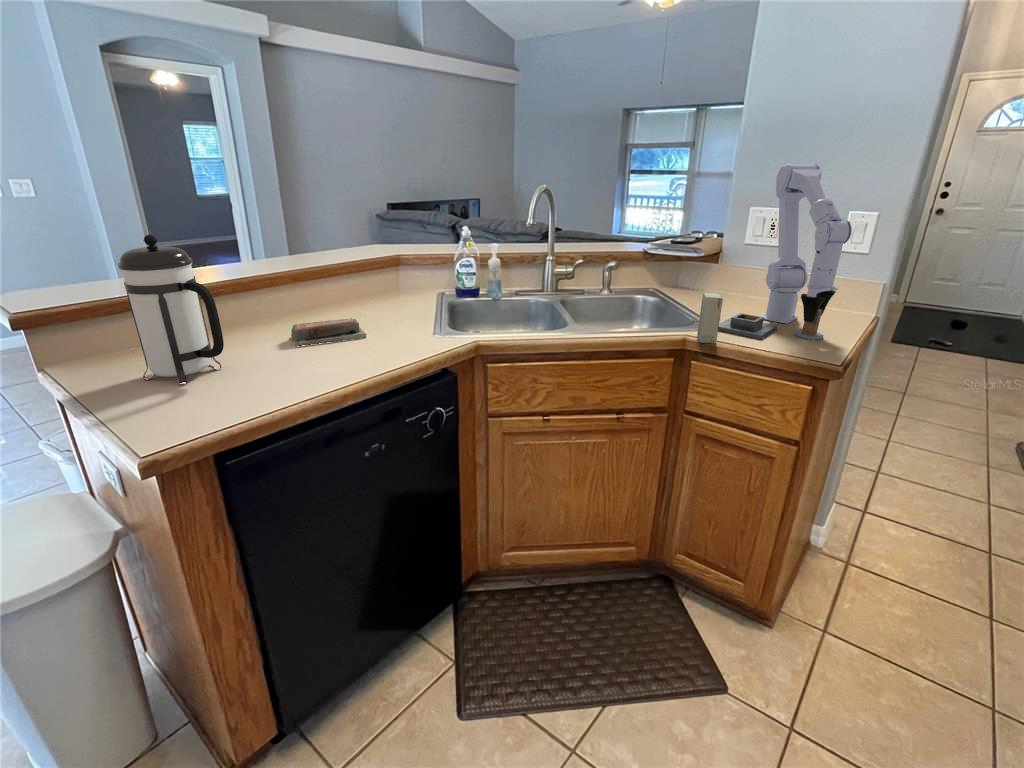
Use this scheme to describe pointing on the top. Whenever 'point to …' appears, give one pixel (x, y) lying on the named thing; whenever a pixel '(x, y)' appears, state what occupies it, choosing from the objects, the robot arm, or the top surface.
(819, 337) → the coaster
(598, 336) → the top surface
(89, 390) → the top surface
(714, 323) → the skincare box
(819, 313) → the brown wooden block
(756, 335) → the grey square socket base
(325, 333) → the packaged product
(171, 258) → the coffee press
